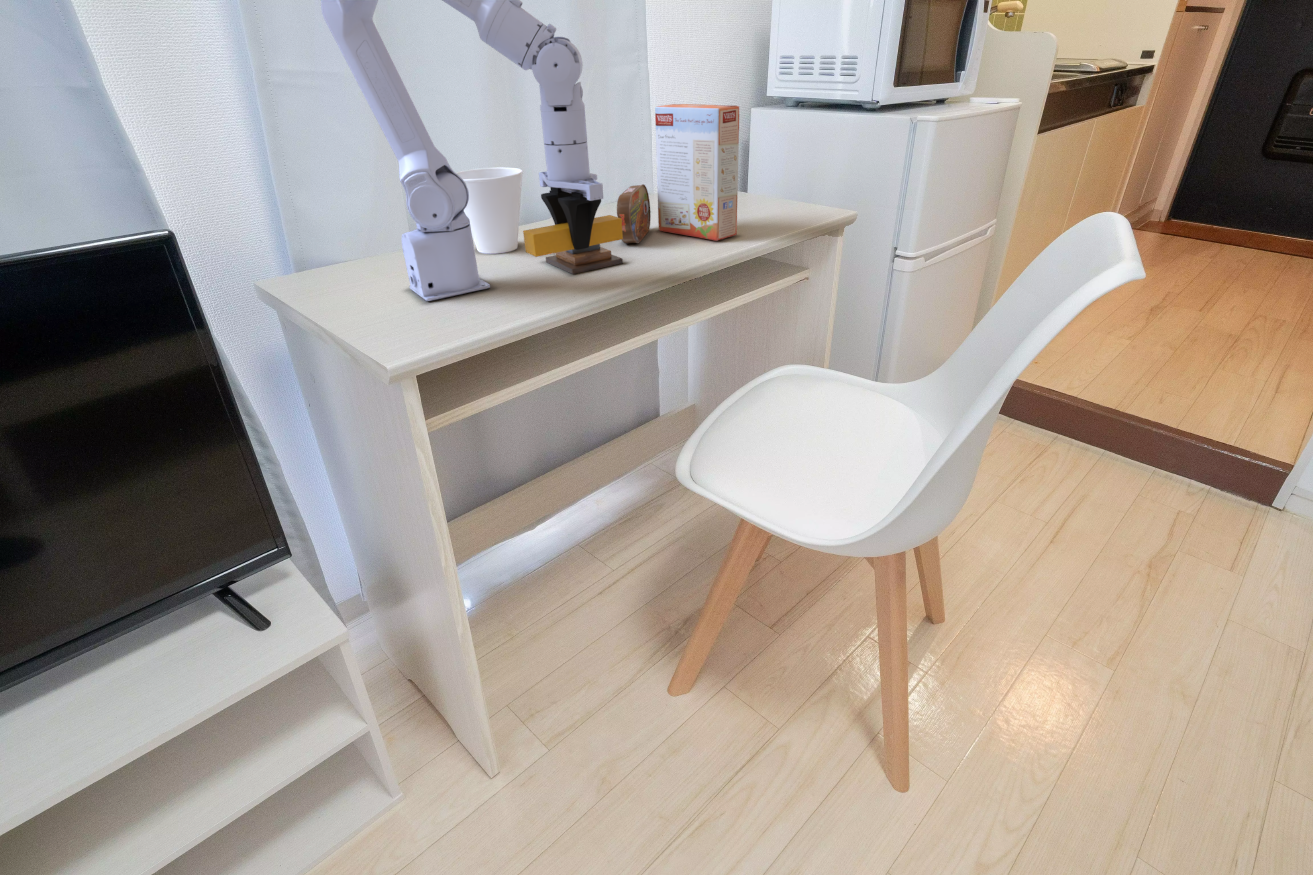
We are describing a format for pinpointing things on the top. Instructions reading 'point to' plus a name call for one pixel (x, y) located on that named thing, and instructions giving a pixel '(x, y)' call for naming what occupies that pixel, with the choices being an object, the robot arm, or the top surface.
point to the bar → (560, 239)
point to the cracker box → (697, 169)
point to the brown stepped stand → (584, 259)
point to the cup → (493, 207)
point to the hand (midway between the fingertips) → (575, 246)
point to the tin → (634, 213)
